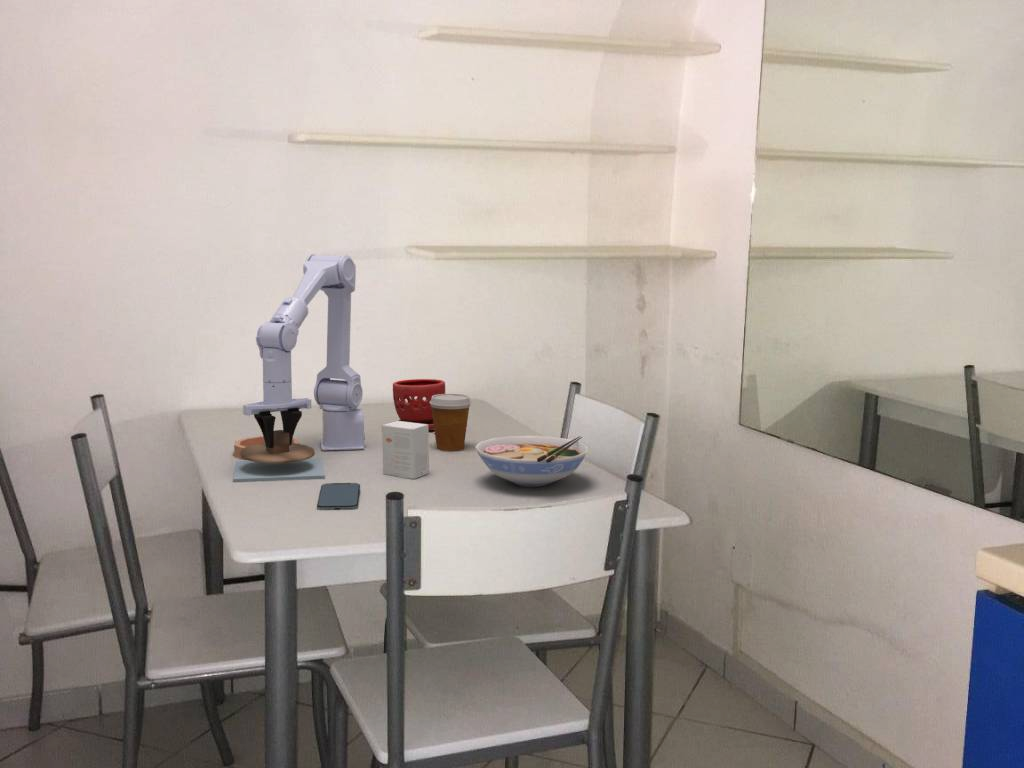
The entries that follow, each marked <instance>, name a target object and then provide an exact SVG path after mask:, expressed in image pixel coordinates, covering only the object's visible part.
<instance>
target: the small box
mask: <svg viewBox="0 0 1024 768" xmlns="http://www.w3.org/2000/svg"><path fill="white" fill-rule="evenodd" d="M381 427H382V428H381V429H382V436H381V437H382V475H387V476H393V477H399V478H405V479H412V480H416V479H418V478H420V477H423V476H425V475H428V474H430V452H429V451H430V448H429V447H430V446H429V445H430V444H429V442H430V441H429V435H430V434H429V431H428V424H420V423H412V422H403V421H398V420H395V421H393V422H389V423H385V424H384V423H383V424H382V426H381Z"/></svg>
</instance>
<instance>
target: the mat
mask: <svg viewBox="0 0 1024 768" xmlns="http://www.w3.org/2000/svg"><path fill="white" fill-rule="evenodd" d="M234 463H235V464H234V470H233V477H232V482H233V483H239V482H240V483H243V482H244V483H245V482H267V481H268V482H269V481H292V480H317V479H318V480H319V479H320V480H321V479H325V478H326V474H325V469H324V463H323V458H322V457H311V458H309V459H306V460H302V461H297V462H290V463H260V462H253V461H249V460H235V462H234Z"/></svg>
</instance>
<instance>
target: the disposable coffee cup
mask: <svg viewBox="0 0 1024 768" xmlns="http://www.w3.org/2000/svg"><path fill="white" fill-rule="evenodd" d="M430 404H431V407H432V414H433V422H434V430H433V431H434V438H435V446H436V450H439V451H443V452H455V451H456V452H457V451H462V450H463V449H465V441H466V433H467V426H468V421H469V420H468V419H469V412H470V411H469V410H470V407H471V404H472V401H471V400H470V396H469V395H467V394H460V393H445V394H438V395H433V396H432V398H431V401H430Z"/></svg>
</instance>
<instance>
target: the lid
mask: <svg viewBox="0 0 1024 768" xmlns="http://www.w3.org/2000/svg"><path fill="white" fill-rule="evenodd" d="M240 456H241V457H242V458H244V459H243V460H245V459H246V460H245V461H247V460H249V461H253V462H260V463H290V462H297V461H302V460H306V459H309V458H314V456H315V449H314V448H313V447H312V446H309V445H305V444H301V443H299V444H296V443H292V444H291V445H290V446H289V433H288V432H286V431H283V429H278V430H277V429H276V430H274V445H273V448H268V447H266V445H265V443H263V444H256V445H252V446H248V447H246V448H243V449H242V450H241V451H240Z"/></svg>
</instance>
